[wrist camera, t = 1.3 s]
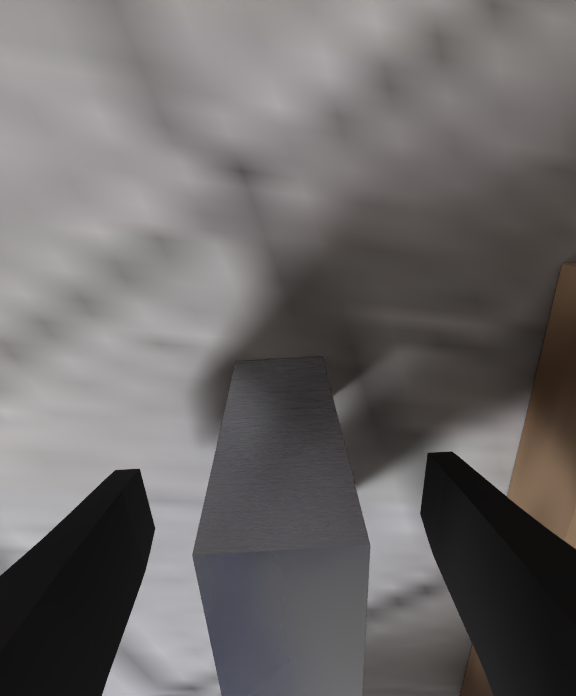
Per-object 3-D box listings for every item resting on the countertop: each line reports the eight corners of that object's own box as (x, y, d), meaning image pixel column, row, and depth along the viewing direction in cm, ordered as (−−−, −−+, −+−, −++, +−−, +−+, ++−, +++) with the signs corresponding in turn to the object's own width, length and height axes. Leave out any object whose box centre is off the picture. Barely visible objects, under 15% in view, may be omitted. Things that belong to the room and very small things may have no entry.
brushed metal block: (324, 505, 13) (359, 749, 7) (252, 510, 13) (234, 755, 7) (322, 356, 11) (370, 544, 5) (235, 361, 11) (192, 555, 5)
